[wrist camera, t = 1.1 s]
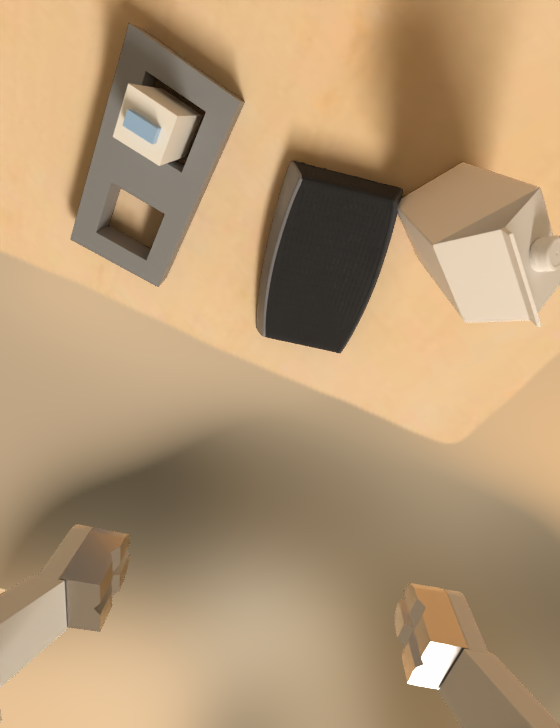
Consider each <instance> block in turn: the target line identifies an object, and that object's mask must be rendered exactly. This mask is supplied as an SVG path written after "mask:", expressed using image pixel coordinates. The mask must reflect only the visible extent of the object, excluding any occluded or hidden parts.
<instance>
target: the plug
mask: <svg viewBox="0 0 560 728" xmlns="http://www.w3.org/2000/svg"><path fill="white" fill-rule="evenodd" d="M201 117H202V115H201V114H199V113H198V112H197V111H195V110H194V109H192V108H191V107H189V106H188V105H186V104H185V103H183V102H182V101H180V100H179V99H177V98H176V97H174V96H173V95H172V94H170V93H169V92H167V91H166V90H164V89H162V88H155V87H149V86H142V85H136V84H129V83H128V86H127V89H126V93H125V96H124V100H123V103H122V107H121V110H120V113H119V117H118V120H117V124H116V127H115V131H114V134H113V137H114V138H115V139H117V140H119V141H120V142H122V143H123V144H125V145H127V146H128V147H130V148H131V149H133V150H135V151H136V152H138V153H139V154H141V155H143V156H144V157H146V158H147V159H149V160H151V161H152V162H154V163H155V164H157V165H158V166H161V165H164V164H166V163H169V162H172V161H175V160H177V159H180V158H183V157H186V155H187V152H188V150H189V147H190V145H191V142H192V140H193V137H194V135H195V132H196V130H197V127H198V125H199V122H200V120H201Z"/></svg>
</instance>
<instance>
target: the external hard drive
mask: <svg viewBox="0 0 560 728" xmlns="http://www.w3.org/2000/svg"><path fill="white" fill-rule="evenodd" d="M402 192H403V190H402V189H401V188H398V187H394V186H389V185H386V184H382V183H378V182H374V181H370V180H366V179H362V178H358V177H355V176H350V175H346V174H342V173H338V172H335V171H331V170H327V169H325V168H324V169H323V168H319V167H315V166H311V165H307V164H305V163H300V162H296V161H291V162H290V164H289V167H288V170H287V173H286V175H285V179H284V182H283V185H282V188H281V192H280V195H279V198H278V202H277V206H276V209H275V213H274V217H273V220H272V224H271V228H270V233H269V237H268V241H267V246H266V251H265V256H264V261H263V267H262V272H261V279H260V286H259V294H258V303H257V315H256V328H257V330H258V332H259V333H260V334H261V335H262V336H264V337H267V338H272V339H276V340H281V341H286V342H291V343H295V344H300V345H305V346H309V347H314V348H319V349H323V350H328V351H332V352H336V353H341V352H342V350H343V349H344V348H345V346H346V344H347V343H348V341H349V339H350V338H351V336H352V334H353V332H354V330H355V328H356V326H357V325H358V323H359V321H360V319H361V317H362V315H363V313H364V310H365V308H366V306H367V304H368V302H369V299H370V297H371V295H372V292H373V290H374V287H375V285H376V282H377V279H378V277H379V274H380V271H381V268H382V265H383V262H384V259H385V256H386V253H387V249H388V246H389V243H390V239H391V236H392V232H393V228H394V225H395V221H396V217H397V213H398V208H397V207H398V204H399V202H400V200H401V196H402Z"/></svg>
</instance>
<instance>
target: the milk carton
mask: <svg viewBox="0 0 560 728" xmlns="http://www.w3.org/2000/svg"><path fill="white" fill-rule="evenodd" d="M397 208H398V215H399V217H400V219H401V221H402V224H403V226H404V228H405V230H406V233H407V235H408V237H409V239H410V242H411V244H412V246H413V248H414V251H415V253H416V255H417V257H418V259H419V261H420V262H421V263H422V265H423V266H424V268H425V269H426V270H427V272H428V273H429V274H430V276H431V277H432V278H433V280H434V281H435V282H436V284H437V285H438V287H439V288H440V289H441V291H442V292H443V293H444V295H445V296H446V297H447V299H448V300H449V301H450V303H451V304H452V306H453V307H454V308H455V310H456V311H457V312H458V314H459V315H460V316H461V318H462V319H463V320H464V322H465V323H479V322H503V321H527V320H530V321H532V322H533V323H534V324H535V325H536V326H537V327H540V326H541V323H540V320H539V317H538V312H539V311H540V310H541V308H542V307H543V306H544V304H545V303H546V302H547V300H548V299H549V298H550V296H551V295H552V294H553V293H554V291H555V290H556V289H557V287H558V286H559V285H560V236H553V233H552V229H551V225H550V221H549V217H548V213H547V209H546V205H545V202H544V198H543V194H542V191H541V189H540V187H537V186H534V185H531V184H528V183H525V182H522V181H519V180H516V179H513V178H510V177H507V176H504V175H501V174H498V173H495V172H492V171H489V170H486V169H483V168H480V167H477V166H473V165H470V164H467V163H464V162H462V163H460V164H458V165H457V166H455V167H453V168H452V169H450V170H448V171H447V172H445V173H443V174H442V175H440V176H438V177H436V178H435V179H433V180H431V181H430V182H428V183H426V184H425V185H423V186H421V187H420V188H418V189H416V190H415V191H413V192H411V193H410V194H408V195H406V196H405V197H403V198H401V200H400V202H399V204H398V207H397Z"/></svg>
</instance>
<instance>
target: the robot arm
mask: <svg viewBox="0 0 560 728" xmlns="http://www.w3.org/2000/svg"><path fill="white" fill-rule="evenodd" d="M129 544H130V535H128V534H123V533H118V532H113V531H109V530H104V529H99V528H94V527H88V526H83V525H78V524H77V525H75V526H74V527H73V528H71V529H70V531H69V532H68V534H67V535H66V536H65V538H64V539H63V541H62V542H61V544H60V545H59V547H58V548H57V549H56V551H55V552H54V553H53V555H52V556H51V558H50V559H49V561H48V562H47V563H46V565H45V566H44V568H43V569H42V570H41V572H40V574H39V575H38V576H36V575H31V576H30V577H28V578H26V579H25V580H23V581H21V582H20V583H18V584H16V585H15V586H13V587H11V588H10V589H8V590H6V591H5V592H3V593H1V594H0V687H2V686H3V685H4V684H5V683H6V682H7V681H8V680H10V679H11V678H12V677H13V676H14V675H15V674H16V673H18V672H19V671H20V670H21V669H22V668H23V667H25V666H26V665H27V664H28V663H29V662H30V661H32V660H33V659H34V658H35V657H36V656H37V655H38V654H40V653H41V652H42V651H43V650H44V649H45V648H46V647H48V646H49V645H50V644H51V643H52V642H53V641H54V640H56V639H57V638H58V637H59V636H60V635H61V634H63V633H64V632H65V631H66V630H67V627H69V628H77V629H84V630H92V631H99V632H100V631H101V629H102V626H103V624H104V622H105V620H106V618H107V616H108V614H109V612H110V609H111V607H112V595H114V594H115V593H117V592H118V591H119V590H120V588H121V586H122V583H123V581H124V578H125V575H126V572H127V569H128V564H129V554H128V552H127V551H126V550H127V548H128V546H129ZM404 595H405V598H404V599H402V600H400V601H399V602H398V605H397V607H396V609H395V619H394V620H395V630H396V635H397V638H398V640H399V641H400V642H401V644H402V645H403V646H404V650H403V653H402V655H401V657H402V661H403V666H404V670H405V674H406V679H407V683H409V684H414V685H420V686H424V687H429V688H434V689H439V690H438V692H439V694H440V695H441V697H442V698H443V700H444V701H445V703H446V704H447V706H448V707H449V709H450V710H451V712H452V713H453V715H454V717H455V718H456V720H457V721H458V723H459V724H460V726H461V727H462V728H560V724H559V723H558V722H557V721H556V720H555V719H554V718H553V717H552V716H551V715H550V713H549V712H548V711H547V710H546V709H545V708H544V707H543V706H542V705H541V704H540V703H539V702H538V701H537V699H536V698H535V697H534V696H532V694H531V693H530V692H529V691H528V690H527V689H526V688H525V687H524V686H523V685H522V683H520V681H519V680H518V679H517V678H516V677H515V676H514V675H513V674H512V673H511V672H510V671H509V670H508V668H507V667H506V666H505V665H504V664H503V663H502V662H501V661H500V660H499V659H498V658H497V657H496V656H495V655H494V654H492V653H488V650H487V648H486V646H485V644H484V641H483V639H482V636H481V634H480V632H479V629H478V627H477V625H476V622H475V620H474V618H473V615H472V613H471V611H470V608H469V606H468V604H467V602H466V599H465V597H464V595H463V594H462V593H461V592H457V591H451V590H446V589H442V588H437V587H430V586H423V585H418V584H411V583H409V584H408V585H406V587H405V590H404ZM1 720H2V718H1V712H0V722H1Z"/></svg>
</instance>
